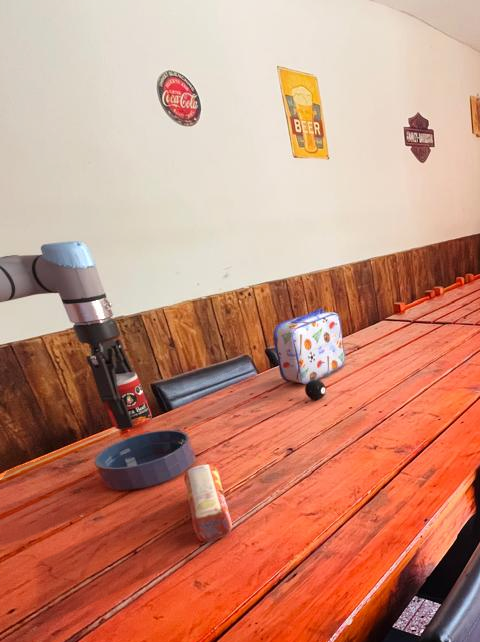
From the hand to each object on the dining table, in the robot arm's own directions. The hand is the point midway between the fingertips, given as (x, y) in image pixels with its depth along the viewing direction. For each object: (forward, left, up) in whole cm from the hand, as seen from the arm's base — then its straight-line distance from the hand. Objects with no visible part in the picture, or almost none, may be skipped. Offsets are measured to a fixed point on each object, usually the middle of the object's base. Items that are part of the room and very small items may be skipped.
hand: (132, 419), depth 116 cm
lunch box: (+8, +67, -14) cm, 69 cm away
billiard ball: (+19, +46, -14) cm, 52 cm away
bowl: (0, 0, -13) cm, 13 cm away
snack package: (+28, -14, -14) cm, 34 cm away
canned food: (0, 0, -1) cm, 1 cm away
